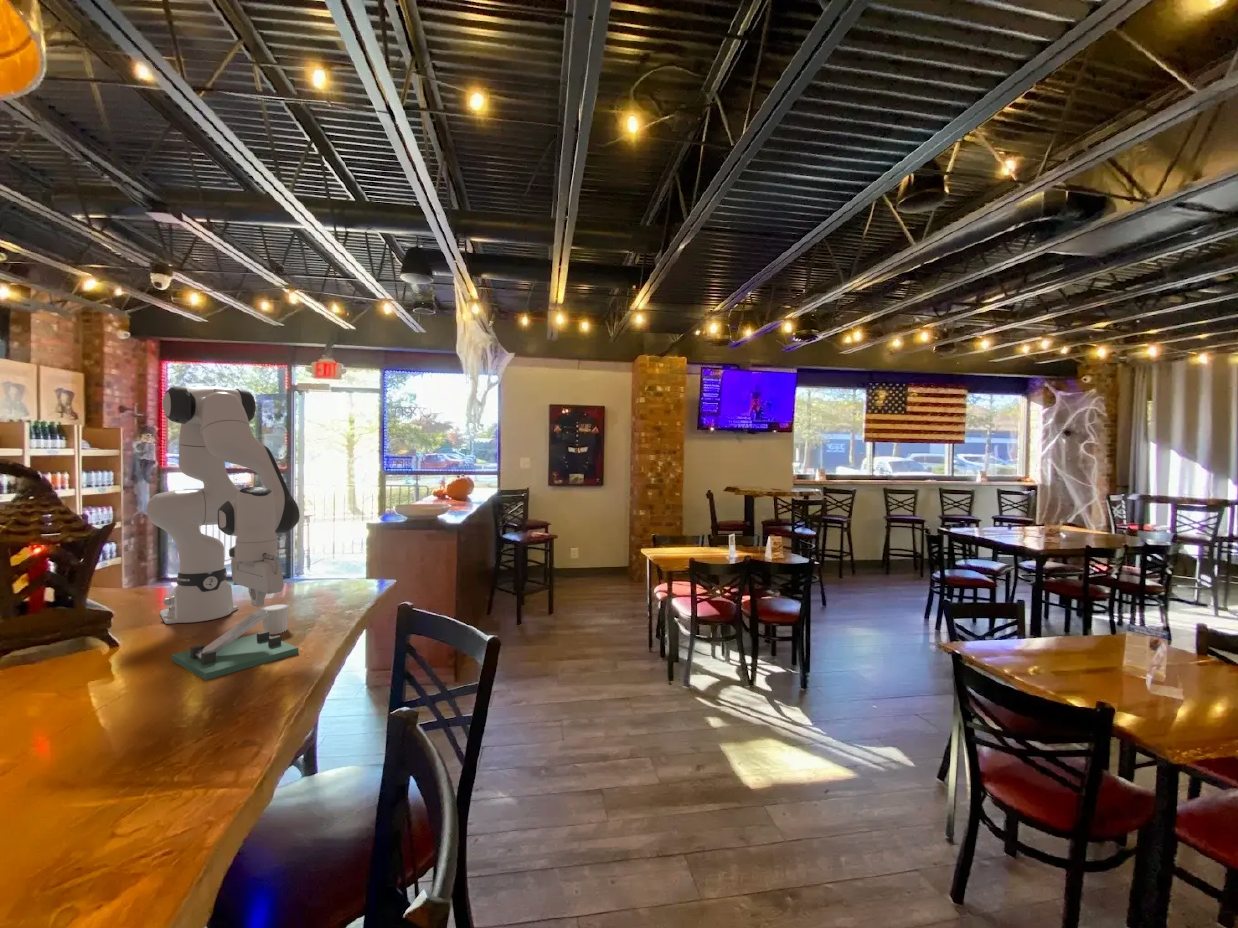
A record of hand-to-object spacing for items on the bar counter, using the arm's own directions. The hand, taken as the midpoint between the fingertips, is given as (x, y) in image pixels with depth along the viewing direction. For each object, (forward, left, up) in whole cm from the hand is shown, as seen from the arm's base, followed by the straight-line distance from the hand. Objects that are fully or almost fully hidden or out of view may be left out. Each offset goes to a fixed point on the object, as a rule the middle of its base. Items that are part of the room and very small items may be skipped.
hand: (257, 605), depth 143 cm
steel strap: (0, -5, -7) cm, 8 cm away
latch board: (0, -5, -12) cm, 13 cm away
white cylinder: (-13, +10, -12) cm, 20 cm away
